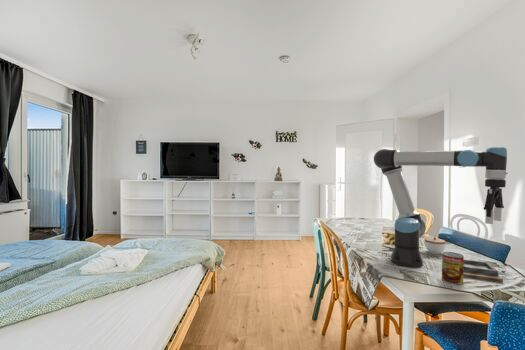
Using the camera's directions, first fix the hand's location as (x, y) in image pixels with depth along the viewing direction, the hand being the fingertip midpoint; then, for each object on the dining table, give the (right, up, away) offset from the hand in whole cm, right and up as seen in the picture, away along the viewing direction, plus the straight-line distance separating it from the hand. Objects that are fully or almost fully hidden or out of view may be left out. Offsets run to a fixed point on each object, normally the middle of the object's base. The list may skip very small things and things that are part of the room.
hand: (493, 222), depth 128 cm
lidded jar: (-8, -24, +31) cm, 40 cm away
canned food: (-27, -25, -10) cm, 38 cm away
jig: (-11, -25, 0) cm, 27 cm away
